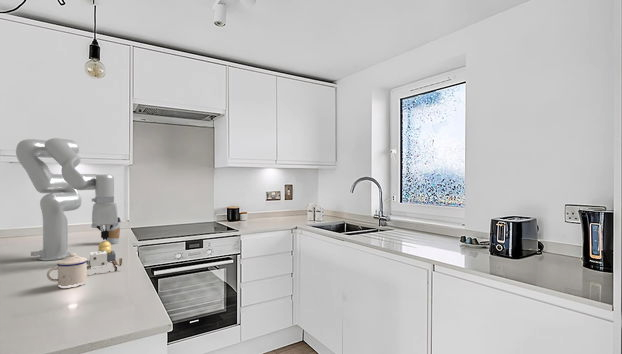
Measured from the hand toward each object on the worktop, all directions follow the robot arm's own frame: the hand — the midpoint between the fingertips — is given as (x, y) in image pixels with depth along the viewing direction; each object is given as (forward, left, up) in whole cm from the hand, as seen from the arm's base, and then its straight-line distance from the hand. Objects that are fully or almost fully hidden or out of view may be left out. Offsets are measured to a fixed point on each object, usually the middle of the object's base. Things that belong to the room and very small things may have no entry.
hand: (104, 239), depth 156 cm
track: (-3, -13, -10) cm, 17 cm away
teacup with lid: (-14, -33, -10) cm, 37 cm away
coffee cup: (+7, +42, -10) cm, 44 cm away
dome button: (0, 0, -7) cm, 7 cm away
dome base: (0, 0, -10) cm, 10 cm away
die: (-3, -9, -10) cm, 14 cm away
